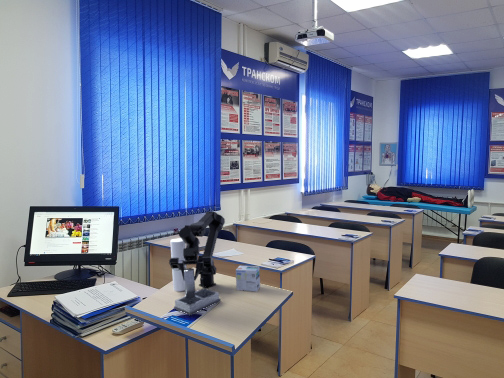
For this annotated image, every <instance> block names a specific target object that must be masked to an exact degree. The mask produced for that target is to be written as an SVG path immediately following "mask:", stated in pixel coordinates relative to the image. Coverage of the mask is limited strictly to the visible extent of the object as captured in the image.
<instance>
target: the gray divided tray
mask: <svg viewBox="0 0 504 378" xmlns="http://www.w3.org/2000/svg"><path fill="white" fill-rule="evenodd" d="M195 295H196V296H195V297H193V298H186V297H185V295H184V296H182V297H180V298H177V299H175V300H174V307H173V309H174V310H175V309H176V310H175V311H178V312H180V311H182V312H185V313H187V314H189V315H188V316H190V315H191V316H193V315H195V314H197V313H198V312H197V311H199V312H201V311H203V310H204V309H203V308H206V307H208V306H210V305H212V304H214V303H216V304H218V303H220V302H221V298H220V293H219V292H217V291H214V290H211V289H208V288H205V287H202V288H201V289H198V290H197V291H196V290H195ZM214 305H215V304H214ZM212 306H213V305H212ZM210 307H211V306H210ZM208 308H209V307H208ZM202 309H203V310H202ZM206 309H207V308H206ZM200 310H201V311H200ZM182 312H181V313H182ZM196 312H197V313H196ZM185 313H184V314H185ZM194 313H195V314H194ZM187 314H186V315H187ZM192 314H193V315H192Z"/></svg>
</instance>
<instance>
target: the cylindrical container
mask: <svg viewBox="0 0 504 378" xmlns="http://www.w3.org/2000/svg"><path fill="white" fill-rule="evenodd" d="M169 243H170V255H171V258H179V260H185V259H184V256H183V249H184V248H186V243H184V241H183V240H182V239H181V238H180V237H179V238H172V239H170V241H169ZM171 258H170V259H171ZM187 268H188V265H185V269H187ZM171 270H172V271H171V272H172V273H171V274H172V287H173V288H172V290H173V291H174V292H183V291H184V292H185V282H184V280H183V276H182V271H181V270H179V269H178V268H176V269H173V268H171Z"/></svg>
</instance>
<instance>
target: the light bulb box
mask: <svg viewBox="0 0 504 378" xmlns="http://www.w3.org/2000/svg"><path fill="white" fill-rule="evenodd" d="M260 272H261V271H260V266H259V265H258V266H256V265H255V266H254V265H241V264H240V265H239V266H238V267H237V268H236V269H235V280H236V281H235V283H236V285H235V286H236V291H243V290H244V292H258V291H259V289H260V288H261V276H260V275H261V274H260Z"/></svg>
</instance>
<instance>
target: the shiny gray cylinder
mask: <svg viewBox="0 0 504 378" xmlns="http://www.w3.org/2000/svg"><path fill="white" fill-rule="evenodd" d="M194 277H195V268H192V267H187V269H184V282H185V290H184V296H185V297H186V298H193V297H195V296H196V295H195V292H196V283H195V282H196V280H194Z"/></svg>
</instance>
